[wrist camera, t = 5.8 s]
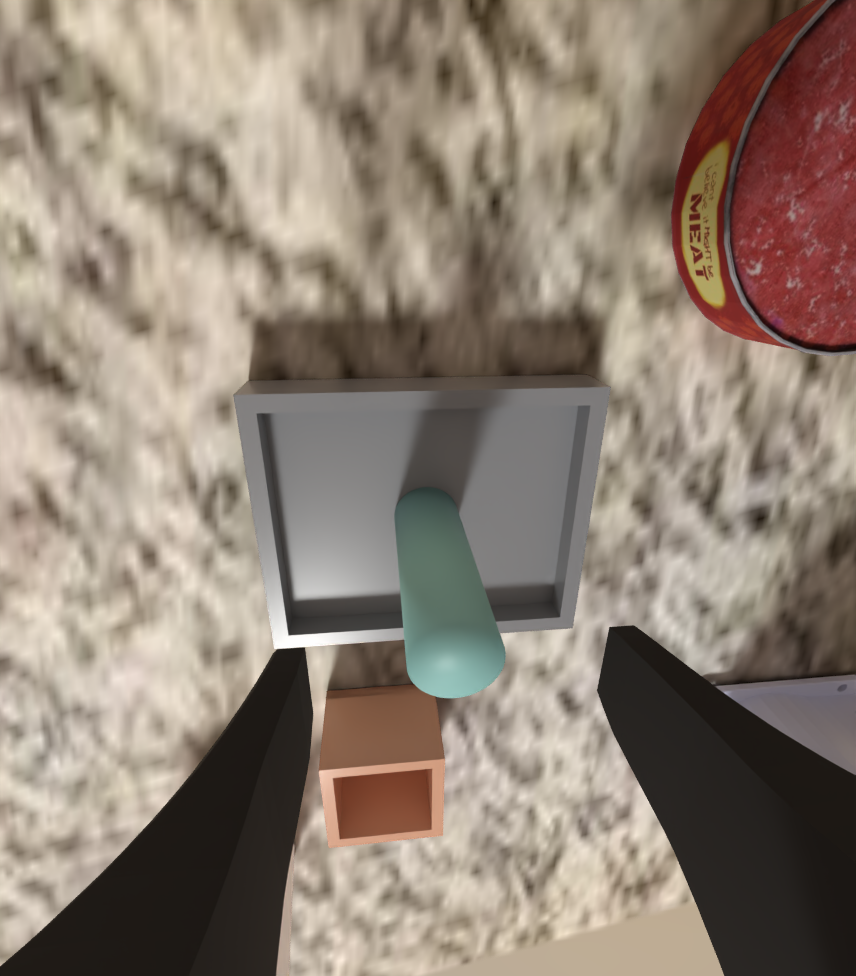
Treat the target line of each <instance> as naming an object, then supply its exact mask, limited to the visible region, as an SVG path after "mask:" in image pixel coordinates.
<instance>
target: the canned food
mask: <svg viewBox="0 0 856 976" xmlns="http://www.w3.org/2000/svg"><path fill="white" fill-rule="evenodd" d="M671 223H672V246H673V251H674V255H675V260H676V264H677V268H678V273H679V276H680V278H681V280H682V282H683V284H684V286H685V288H686V291H687V293H688V295H689V297H690V299H691V300H692V301H693V302H694V304H695V305H696V306H697V307H698V309H699V310H700V311H701V312H702V314H703V315H704V316H705V317H706V318H707V319H709V320H710V321H711V322H713V323H714V324H715V325H717V326H718V327H719V328H721V329H722V330H723V331H726V332H728V333H731V334H733V335H735V336H738V337H740V338H743V339H747V340H752V341H757V342H762V343H767V344H772V345H777V346H781V347H786V348H791V349H796V350H799V351H801V352H804V353H811V354H818V355H826V356H836V355H848V354H856V0H815V1H813V2H811V3H810V4H808V5H806V6H804V7H803V8H801V9H799V10H798V11H796V12H794V13H793V14H791V15H789V16H787V17H786V18H784V19H782V20H780V21H779V22H778V23H777V24H775V25H774V26H773V27H772V28H771V29H769V30H768V31H767V32H766V33H764V34H763V35H762V36H761V37H760V38H758V39H757V40H756V41H755V42H753V43H752V44H751V45H750V46H749V47H748V48H747V49H746V51H745V52H744V53H743V54H742V55H741V56H740V57H739V59H738V60H737V61H736V62H735V63H734V64H733V65H732V66H731V68H730V69H729V70H728V71H727V72H726V73H725V74H724V76H723V77H722V79H721V80H720V82H719V83H718V85H717V87H716V88H715V90H714V91H713V93H712V94H711V96H710V97H709V99H708V101H707V102H706V104H705V105H704V107H703V108H702V110H701V112H700V115H699V117H698V119H697V121H696V123H695V126H694V128H693V130H692V132H691V134H690V137H689V139H688V141H687V143H686V146H685V149H684V153H683V156H682V160H681V163H680V167H679V170H678V173H677V177H676V181H675V189H674V196H673V204H672V212H671Z"/></svg>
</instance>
